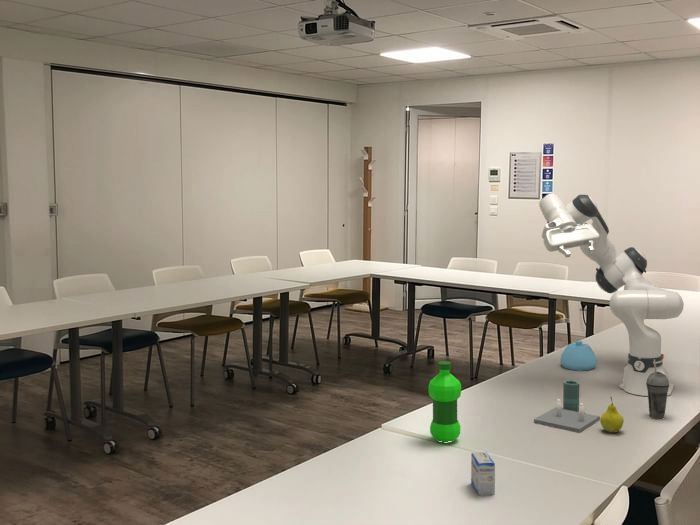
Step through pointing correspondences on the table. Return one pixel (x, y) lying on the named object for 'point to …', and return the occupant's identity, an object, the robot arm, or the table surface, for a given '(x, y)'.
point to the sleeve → (571, 395)
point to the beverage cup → (657, 393)
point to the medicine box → (483, 473)
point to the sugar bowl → (578, 357)
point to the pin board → (567, 418)
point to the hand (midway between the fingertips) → (580, 253)
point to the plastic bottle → (445, 404)
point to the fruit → (612, 419)
